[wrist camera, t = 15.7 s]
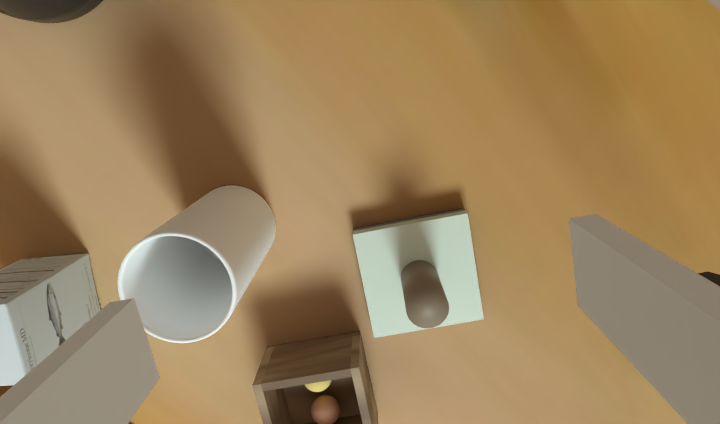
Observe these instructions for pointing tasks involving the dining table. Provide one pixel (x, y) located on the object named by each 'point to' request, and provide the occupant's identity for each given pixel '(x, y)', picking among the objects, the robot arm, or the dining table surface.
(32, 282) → the supplement box
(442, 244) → the lid
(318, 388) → the ball
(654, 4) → the dining table surface
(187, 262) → the cup
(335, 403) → the ball
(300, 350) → the box
